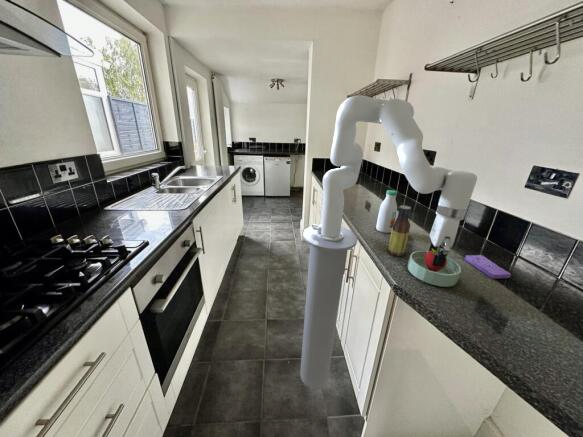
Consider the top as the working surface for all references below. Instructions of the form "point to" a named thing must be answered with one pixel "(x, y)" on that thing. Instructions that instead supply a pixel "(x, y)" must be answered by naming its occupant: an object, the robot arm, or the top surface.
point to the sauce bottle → (400, 232)
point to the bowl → (439, 278)
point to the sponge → (487, 266)
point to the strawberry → (429, 259)
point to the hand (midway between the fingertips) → (435, 259)
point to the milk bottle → (387, 212)
